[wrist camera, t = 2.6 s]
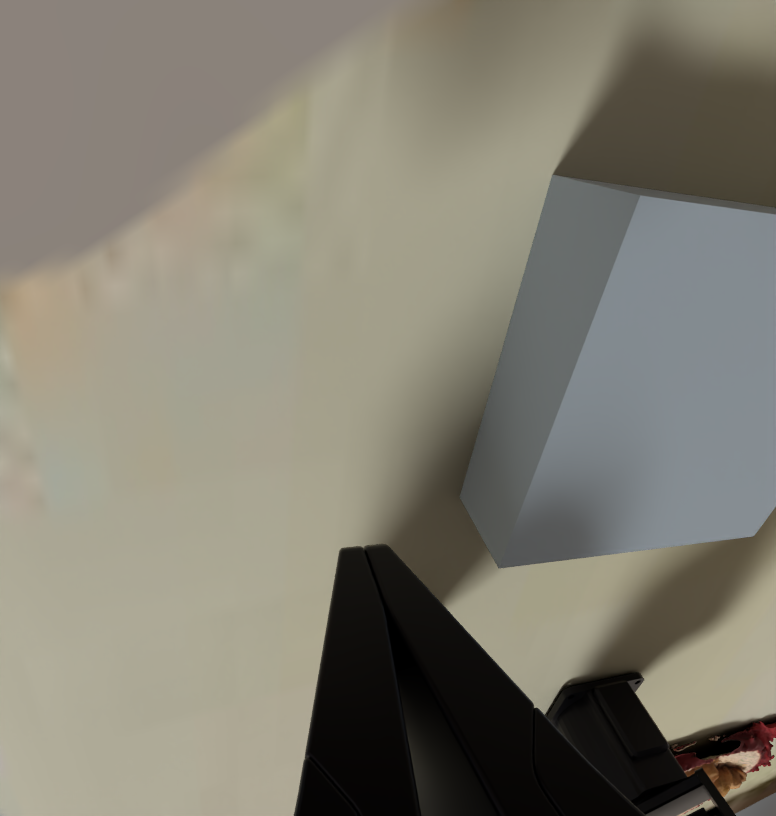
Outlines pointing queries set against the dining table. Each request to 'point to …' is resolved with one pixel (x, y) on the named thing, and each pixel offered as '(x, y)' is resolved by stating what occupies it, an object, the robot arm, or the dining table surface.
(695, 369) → the blue-grey square block
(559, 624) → the dining table surface
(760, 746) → the plate with food
